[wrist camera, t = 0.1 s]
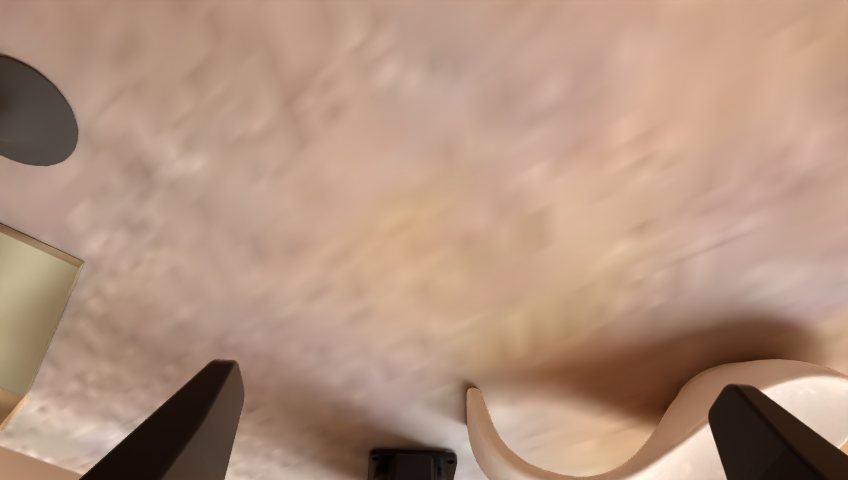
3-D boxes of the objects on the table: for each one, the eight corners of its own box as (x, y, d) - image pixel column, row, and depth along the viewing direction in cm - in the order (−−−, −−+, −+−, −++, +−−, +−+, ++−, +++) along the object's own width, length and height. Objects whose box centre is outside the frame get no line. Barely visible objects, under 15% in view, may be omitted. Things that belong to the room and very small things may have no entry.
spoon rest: (857, 320, 28) (974, 426, 22) (790, 437, 35) (867, 544, 29) (461, 347, 29) (472, 455, 23) (469, 455, 36) (478, 561, 30)
